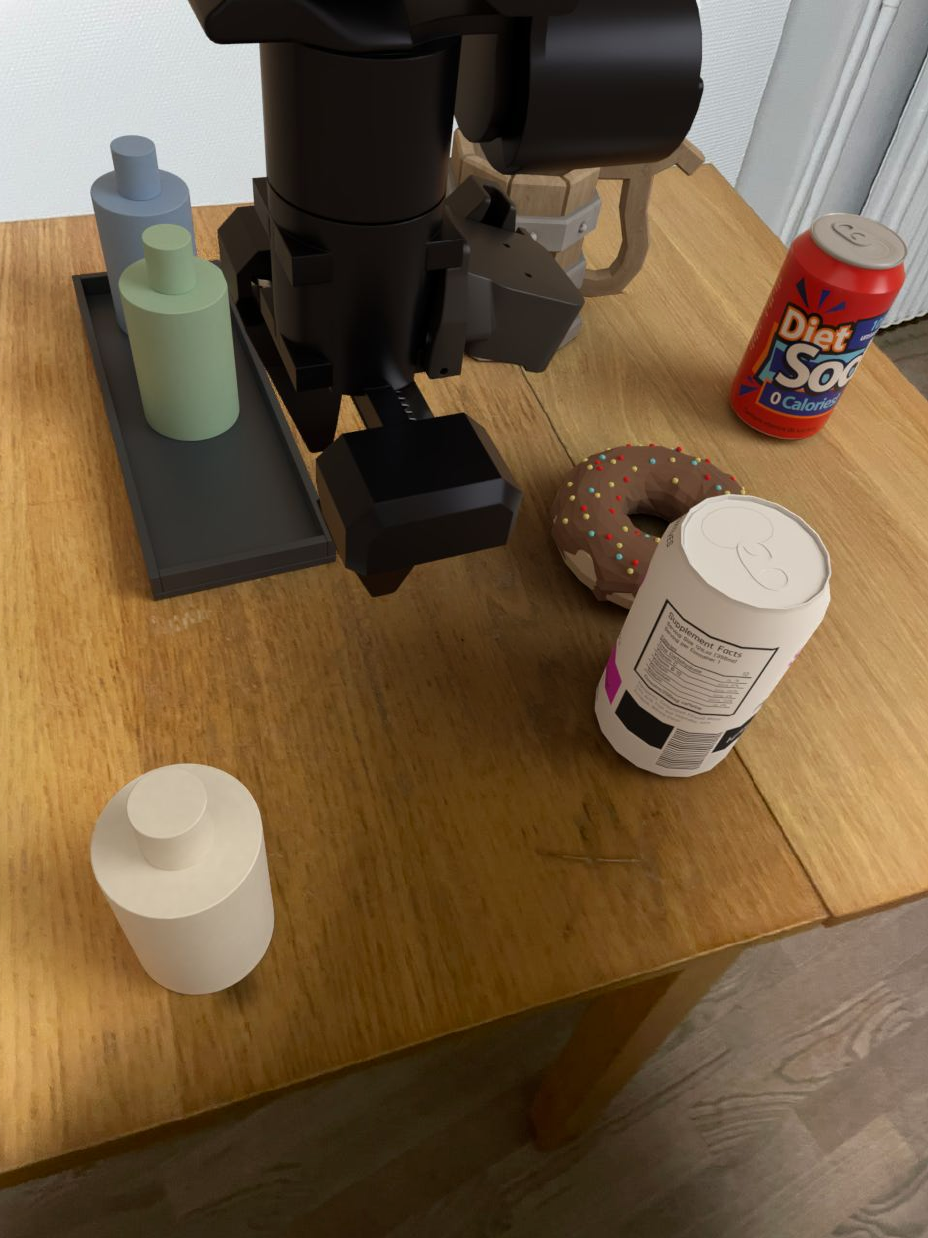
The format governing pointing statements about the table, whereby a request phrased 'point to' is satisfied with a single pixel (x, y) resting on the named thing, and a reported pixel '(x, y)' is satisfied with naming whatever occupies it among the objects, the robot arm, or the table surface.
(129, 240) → the blue bottle
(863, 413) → the table surface
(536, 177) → the tankard
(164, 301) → the sage bottle
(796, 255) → the soda can
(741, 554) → the supplement can
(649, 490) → the donut
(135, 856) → the cream bottle
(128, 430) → the tray
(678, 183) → the table surface
